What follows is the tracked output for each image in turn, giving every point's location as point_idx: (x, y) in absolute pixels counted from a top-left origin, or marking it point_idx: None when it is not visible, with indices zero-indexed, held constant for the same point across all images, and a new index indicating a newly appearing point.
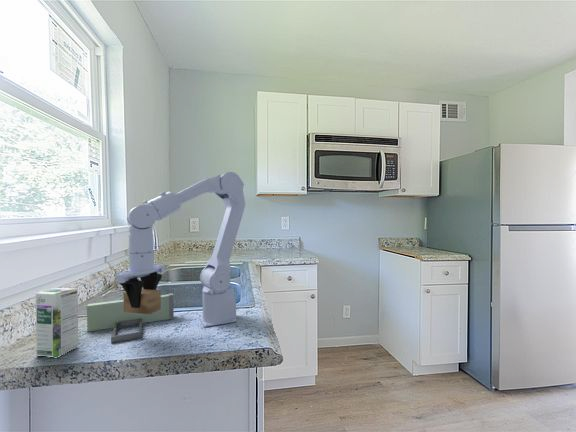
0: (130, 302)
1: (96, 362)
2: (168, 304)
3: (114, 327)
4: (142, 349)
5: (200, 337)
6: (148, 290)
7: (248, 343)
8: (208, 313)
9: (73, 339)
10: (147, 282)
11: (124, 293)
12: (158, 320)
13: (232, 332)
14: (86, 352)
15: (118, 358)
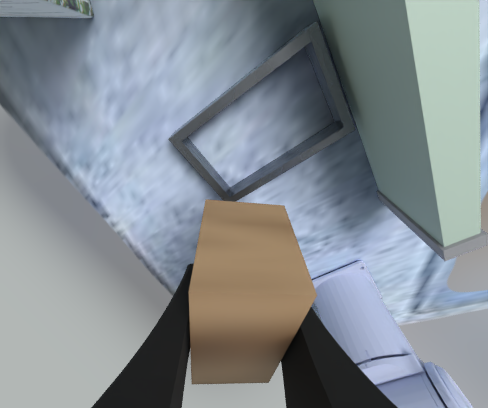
0: (180, 285)
1: (72, 181)
2: (413, 220)
3: (255, 73)
4: (172, 234)
5: None
6: (260, 359)
7: None
8: (323, 311)
9: (35, 10)
10: (304, 404)
11: (189, 290)
12: (370, 164)
13: None
14: (90, 99)
15: (115, 214)
